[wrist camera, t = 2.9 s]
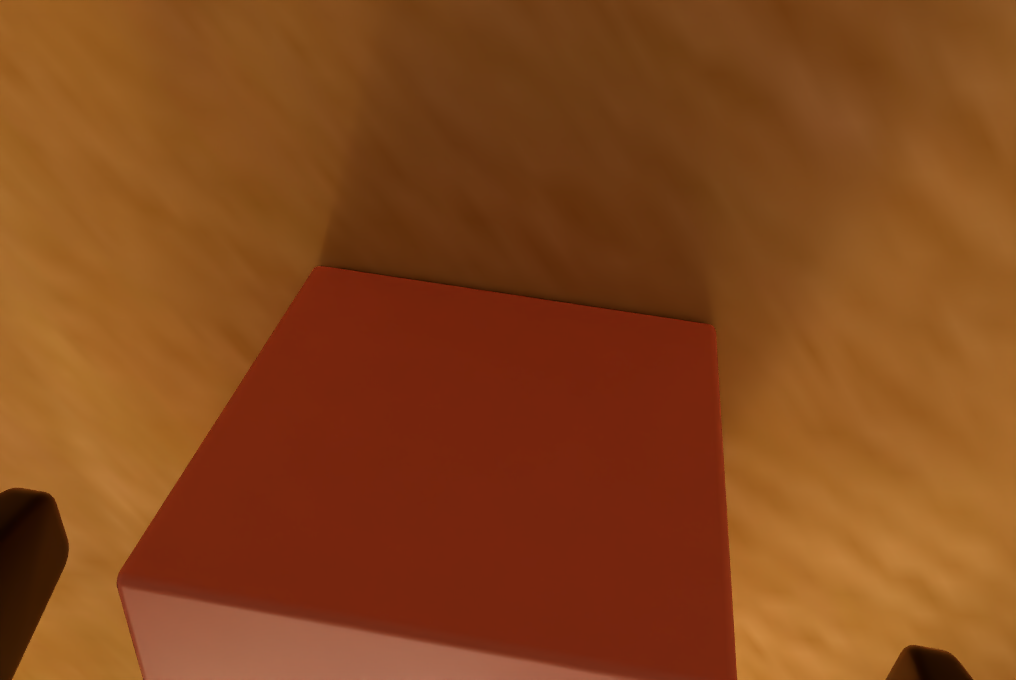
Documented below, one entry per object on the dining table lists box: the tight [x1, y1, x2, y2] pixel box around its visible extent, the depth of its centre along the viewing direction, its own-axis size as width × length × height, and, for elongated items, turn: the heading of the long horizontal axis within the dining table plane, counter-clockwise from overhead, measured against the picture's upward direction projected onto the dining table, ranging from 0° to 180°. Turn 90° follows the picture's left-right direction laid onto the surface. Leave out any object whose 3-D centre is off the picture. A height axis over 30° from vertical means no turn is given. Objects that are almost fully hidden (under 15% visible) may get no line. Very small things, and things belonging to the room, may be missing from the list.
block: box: [117, 266, 737, 680], centre depth 9 cm, size 4×4×4 cm
